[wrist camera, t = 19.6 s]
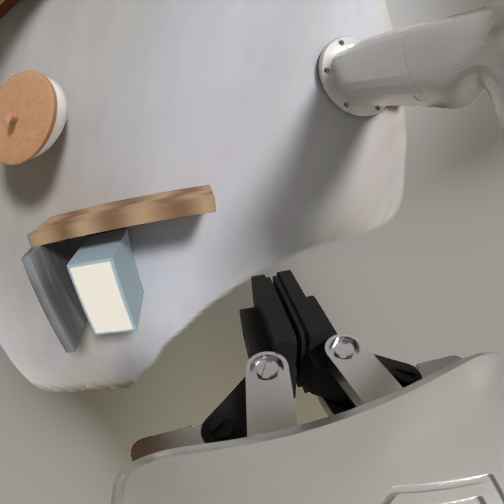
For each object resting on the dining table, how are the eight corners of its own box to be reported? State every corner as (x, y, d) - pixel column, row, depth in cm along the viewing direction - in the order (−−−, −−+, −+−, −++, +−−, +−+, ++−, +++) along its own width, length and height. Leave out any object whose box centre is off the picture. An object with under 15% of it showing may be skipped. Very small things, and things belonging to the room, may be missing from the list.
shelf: (209, 185, 35) (217, 205, 26) (223, 288, 41) (234, 331, 33) (25, 224, 30) (-10, 253, 21) (59, 312, 37) (39, 353, 28)
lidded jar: (72, 158, 29) (38, 170, 20) (12, 155, 25) (-27, 167, 17) (87, 78, 25) (57, 65, 16) (24, 81, 22) (-13, 74, 13)
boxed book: (127, 229, 35) (112, 258, 27) (143, 292, 39) (136, 331, 31) (88, 236, 33) (65, 266, 26) (107, 297, 38) (94, 335, 30)
